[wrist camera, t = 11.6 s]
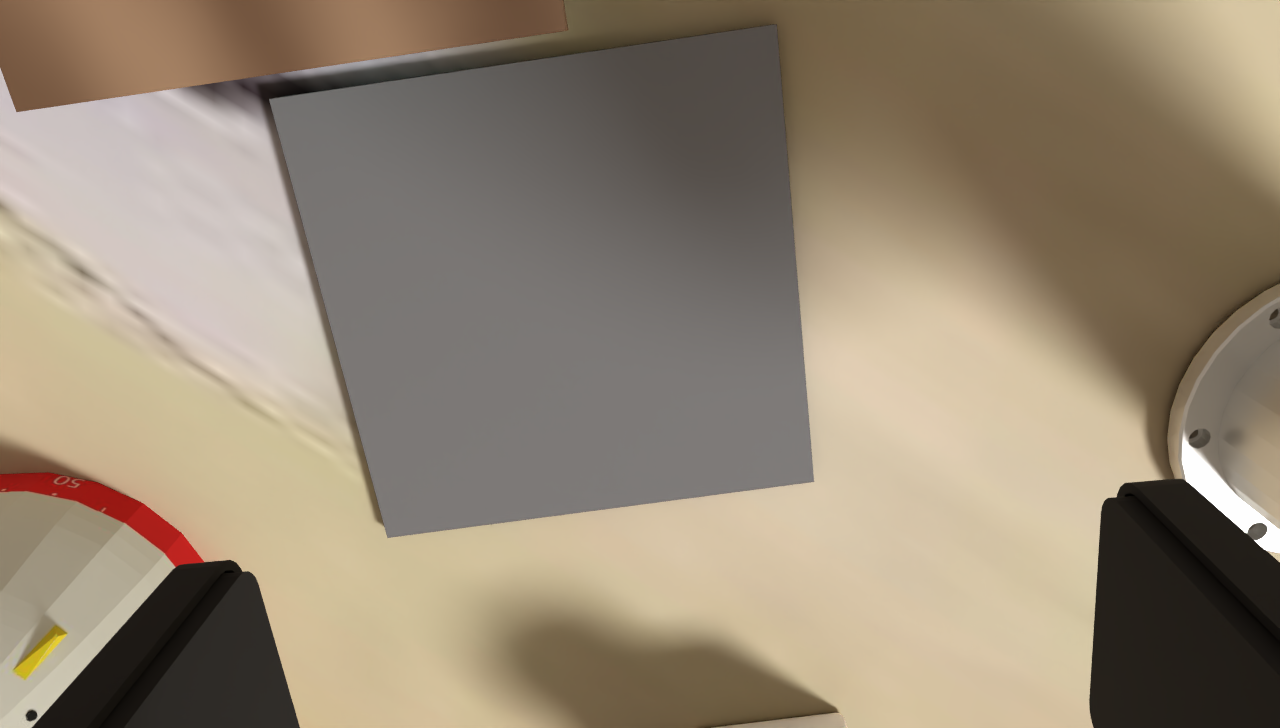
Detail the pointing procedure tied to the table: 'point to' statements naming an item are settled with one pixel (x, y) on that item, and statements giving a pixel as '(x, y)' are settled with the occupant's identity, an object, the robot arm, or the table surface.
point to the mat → (561, 278)
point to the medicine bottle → (799, 722)
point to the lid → (230, 39)
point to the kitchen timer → (70, 581)
